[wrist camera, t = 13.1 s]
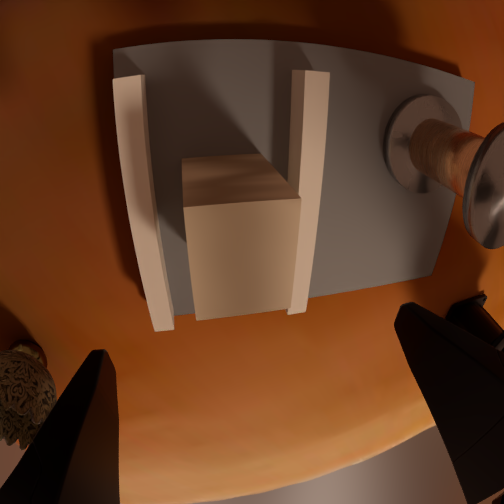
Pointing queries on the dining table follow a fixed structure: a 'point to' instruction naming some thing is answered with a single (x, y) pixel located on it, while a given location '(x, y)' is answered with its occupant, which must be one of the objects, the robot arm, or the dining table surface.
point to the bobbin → (449, 162)
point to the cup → (24, 392)
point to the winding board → (279, 156)
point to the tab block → (239, 234)
